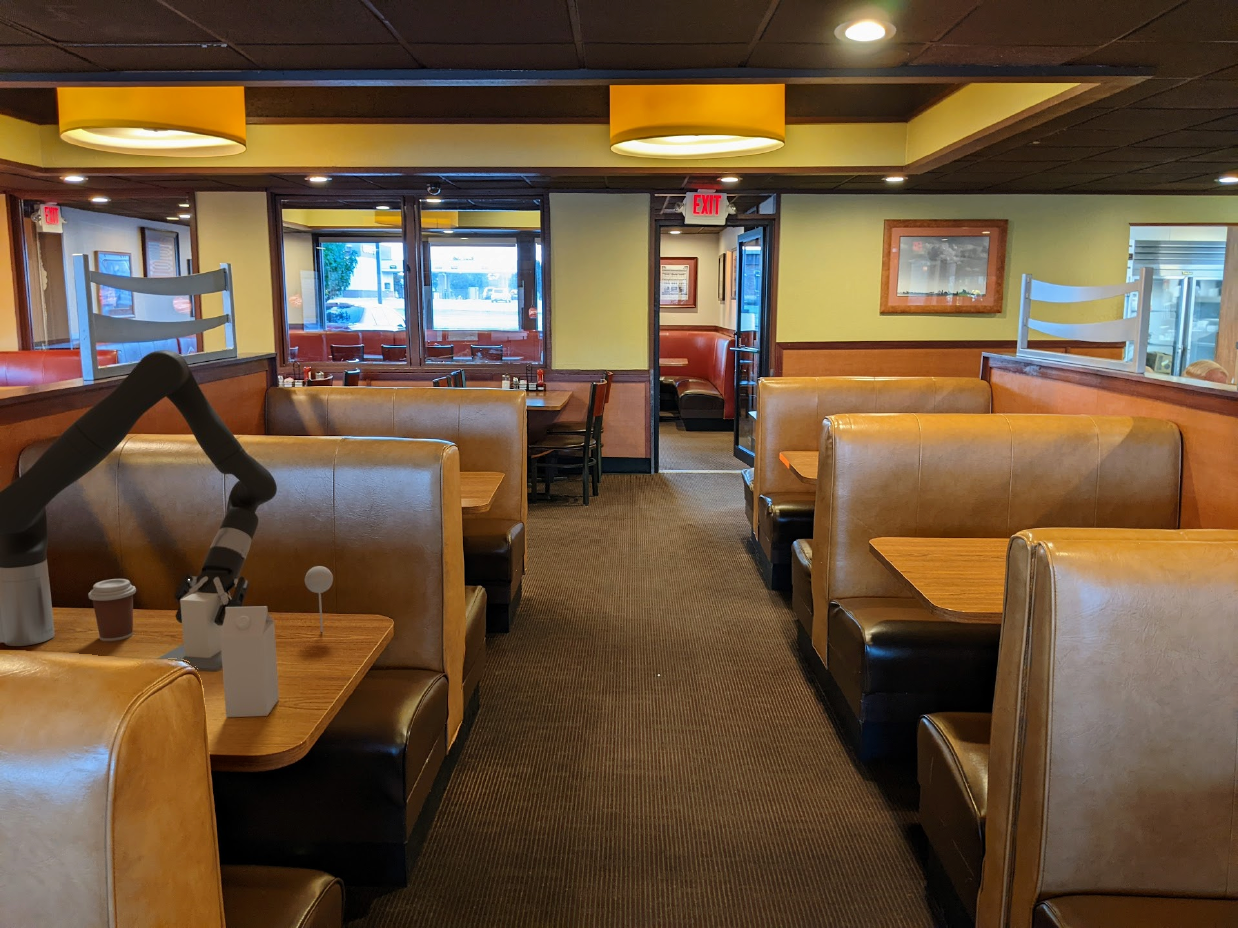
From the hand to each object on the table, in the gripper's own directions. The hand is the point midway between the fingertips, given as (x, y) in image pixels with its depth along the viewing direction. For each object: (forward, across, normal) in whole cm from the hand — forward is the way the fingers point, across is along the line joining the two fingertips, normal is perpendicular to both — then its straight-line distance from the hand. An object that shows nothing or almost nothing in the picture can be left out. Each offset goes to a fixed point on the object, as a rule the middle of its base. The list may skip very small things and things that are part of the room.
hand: (198, 622), depth 185 cm
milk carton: (+20, +24, -9) cm, 33 cm away
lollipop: (-8, +17, +18) cm, 26 cm away
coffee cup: (0, -26, +11) cm, 28 cm away
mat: (+4, 0, +6) cm, 8 cm away
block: (+4, 0, +6) cm, 7 cm away
